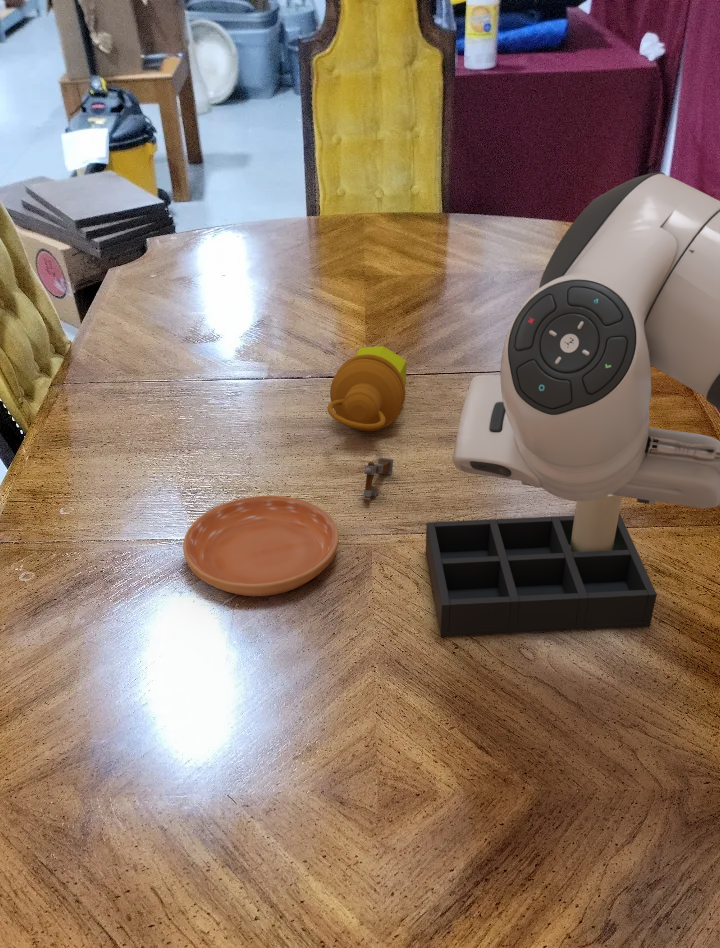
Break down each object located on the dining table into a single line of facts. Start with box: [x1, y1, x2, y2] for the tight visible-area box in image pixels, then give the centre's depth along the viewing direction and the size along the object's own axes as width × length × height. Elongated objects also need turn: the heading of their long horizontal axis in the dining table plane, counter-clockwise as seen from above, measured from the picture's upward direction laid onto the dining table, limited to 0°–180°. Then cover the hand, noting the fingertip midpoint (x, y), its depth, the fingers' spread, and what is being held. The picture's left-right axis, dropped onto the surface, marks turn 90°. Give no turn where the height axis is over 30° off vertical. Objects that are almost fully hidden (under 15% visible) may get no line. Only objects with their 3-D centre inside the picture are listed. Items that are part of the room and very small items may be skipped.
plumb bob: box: [327, 345, 407, 432], centre depth 123 cm, size 9×9×25 cm
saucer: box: [182, 495, 340, 597], centre depth 103 cm, size 16×16×3 cm
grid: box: [425, 513, 658, 638], centre depth 98 cm, size 20×14×4 cm
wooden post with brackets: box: [363, 456, 394, 504], centre depth 113 cm, size 2×8×4 cm, turn 163°
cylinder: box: [570, 495, 623, 552], centre depth 98 cm, size 4×4×9 cm
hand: (589, 485), depth 82 cm, fingers open, 8 cm apart
